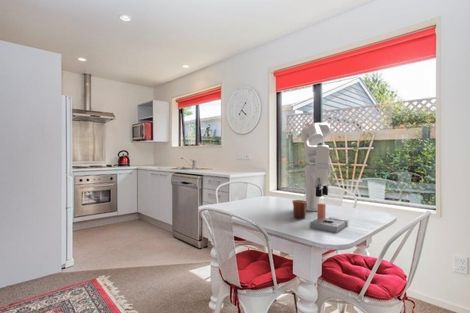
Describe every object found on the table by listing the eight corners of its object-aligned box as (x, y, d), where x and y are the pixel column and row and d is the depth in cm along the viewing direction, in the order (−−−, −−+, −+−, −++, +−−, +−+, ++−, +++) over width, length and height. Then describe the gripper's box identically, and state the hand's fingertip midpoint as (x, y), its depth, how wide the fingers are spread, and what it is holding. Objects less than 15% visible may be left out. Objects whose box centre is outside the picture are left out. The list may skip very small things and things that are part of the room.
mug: (301, 220, 161) (301, 203, 161) (289, 217, 167) (289, 201, 167) (312, 217, 169) (312, 200, 169) (299, 214, 175) (300, 198, 175)
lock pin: (317, 221, 160) (317, 204, 160) (319, 219, 162) (319, 203, 162) (323, 222, 158) (323, 204, 157) (325, 220, 160) (325, 203, 160)
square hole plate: (310, 227, 145) (310, 222, 145) (320, 222, 156) (320, 217, 156) (336, 232, 136) (336, 226, 136) (345, 227, 147) (345, 221, 147)
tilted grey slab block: (328, 223, 155) (328, 217, 155) (330, 222, 157) (330, 216, 157) (346, 227, 148) (346, 220, 148) (348, 225, 151) (348, 219, 151)
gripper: (321, 166, 168) (321, 193, 168) (309, 166, 155) (309, 196, 155) (333, 166, 164) (333, 194, 163) (322, 166, 150) (322, 198, 150)
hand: (321, 195), depth 159 cm, fingers open, 9 cm apart
